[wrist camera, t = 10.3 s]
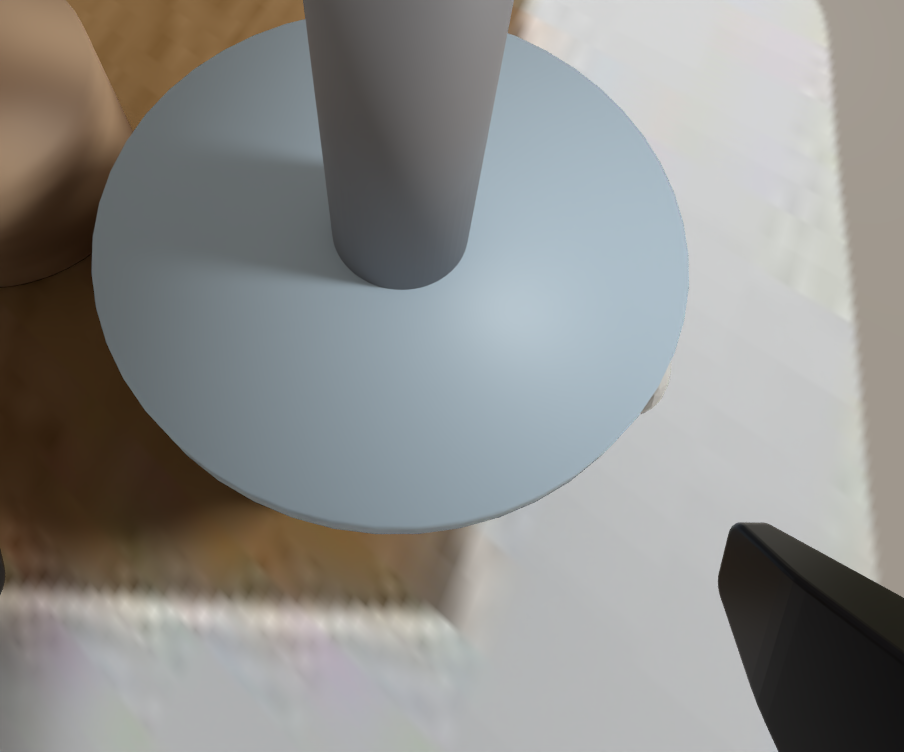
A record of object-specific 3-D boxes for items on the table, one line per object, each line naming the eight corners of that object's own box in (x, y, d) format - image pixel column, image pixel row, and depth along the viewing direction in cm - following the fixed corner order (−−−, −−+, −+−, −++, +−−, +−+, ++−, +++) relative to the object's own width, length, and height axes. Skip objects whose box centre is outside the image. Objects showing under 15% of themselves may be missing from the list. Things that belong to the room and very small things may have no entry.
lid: (299, 671, 14) (161, 677, 5) (11, 175, 17) (-351, -299, 9) (784, 330, 17) (1159, 13, 9) (466, -24, 21) (521, -495, 12)
